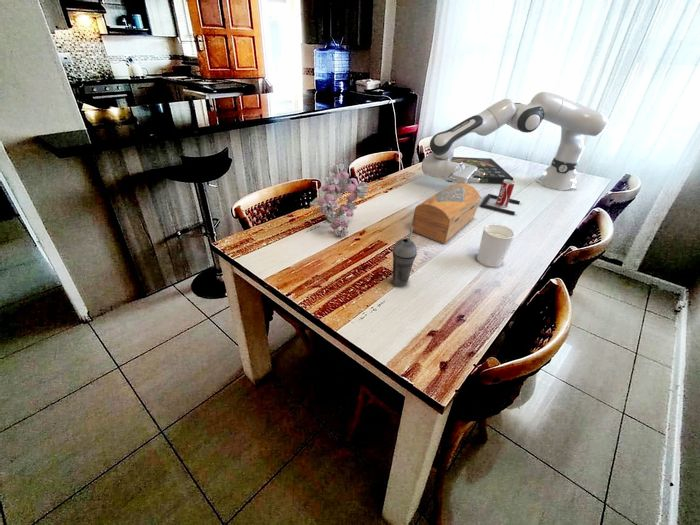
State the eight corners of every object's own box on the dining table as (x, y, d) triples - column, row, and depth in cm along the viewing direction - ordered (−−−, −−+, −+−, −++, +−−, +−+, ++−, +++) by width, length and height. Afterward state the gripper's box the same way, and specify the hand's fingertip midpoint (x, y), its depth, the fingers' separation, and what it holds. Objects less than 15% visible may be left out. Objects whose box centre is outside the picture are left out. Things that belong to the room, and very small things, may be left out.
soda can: (508, 208, 153) (516, 183, 146) (496, 206, 154) (504, 182, 147) (505, 203, 157) (514, 179, 150) (494, 202, 158) (502, 178, 151)
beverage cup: (386, 275, 106) (393, 220, 94) (408, 275, 106) (417, 220, 95) (390, 290, 100) (398, 233, 88) (413, 289, 100) (424, 233, 89)
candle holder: (503, 256, 118) (513, 227, 111) (504, 271, 110) (515, 240, 104) (475, 250, 120) (483, 221, 114) (474, 264, 113) (483, 234, 106)
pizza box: (511, 184, 179) (513, 178, 177) (448, 181, 179) (449, 175, 177) (489, 164, 208) (491, 158, 206) (435, 161, 208) (436, 156, 206)
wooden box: (441, 207, 151) (447, 178, 143) (475, 218, 142) (484, 188, 134) (407, 230, 131) (412, 198, 124) (444, 245, 123) (452, 211, 115)
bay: (487, 195, 164) (488, 193, 164) (519, 203, 158) (520, 201, 158) (480, 206, 153) (480, 204, 152) (513, 215, 147) (514, 212, 146)
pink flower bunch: (290, 227, 126) (311, 178, 109) (316, 200, 142) (338, 154, 125) (333, 255, 127) (361, 211, 109) (354, 226, 143) (381, 183, 125)
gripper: (447, 171, 151) (478, 177, 145) (460, 160, 165) (488, 165, 160) (445, 184, 155) (474, 191, 149) (457, 172, 169) (485, 178, 163)
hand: (481, 177), depth 154 cm, fingers open, 8 cm apart
